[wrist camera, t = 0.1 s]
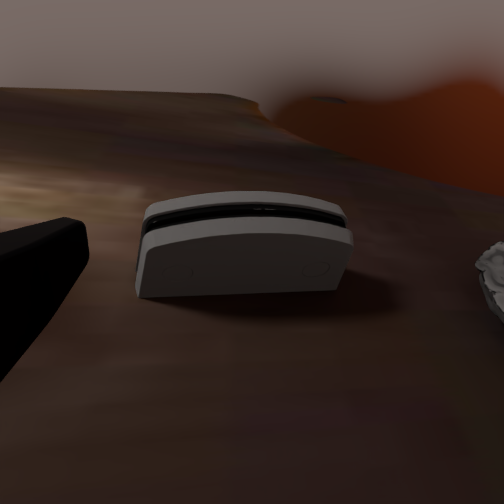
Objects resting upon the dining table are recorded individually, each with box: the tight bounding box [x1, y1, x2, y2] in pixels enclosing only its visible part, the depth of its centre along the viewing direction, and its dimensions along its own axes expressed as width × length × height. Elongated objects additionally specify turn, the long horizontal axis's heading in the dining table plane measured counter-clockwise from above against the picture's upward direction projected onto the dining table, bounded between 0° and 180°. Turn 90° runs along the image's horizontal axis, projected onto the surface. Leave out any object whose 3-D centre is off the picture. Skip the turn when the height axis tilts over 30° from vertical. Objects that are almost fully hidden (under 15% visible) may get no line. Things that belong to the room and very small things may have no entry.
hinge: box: [135, 191, 354, 298], centre depth 32 cm, size 17×5×10 cm, turn 101°
